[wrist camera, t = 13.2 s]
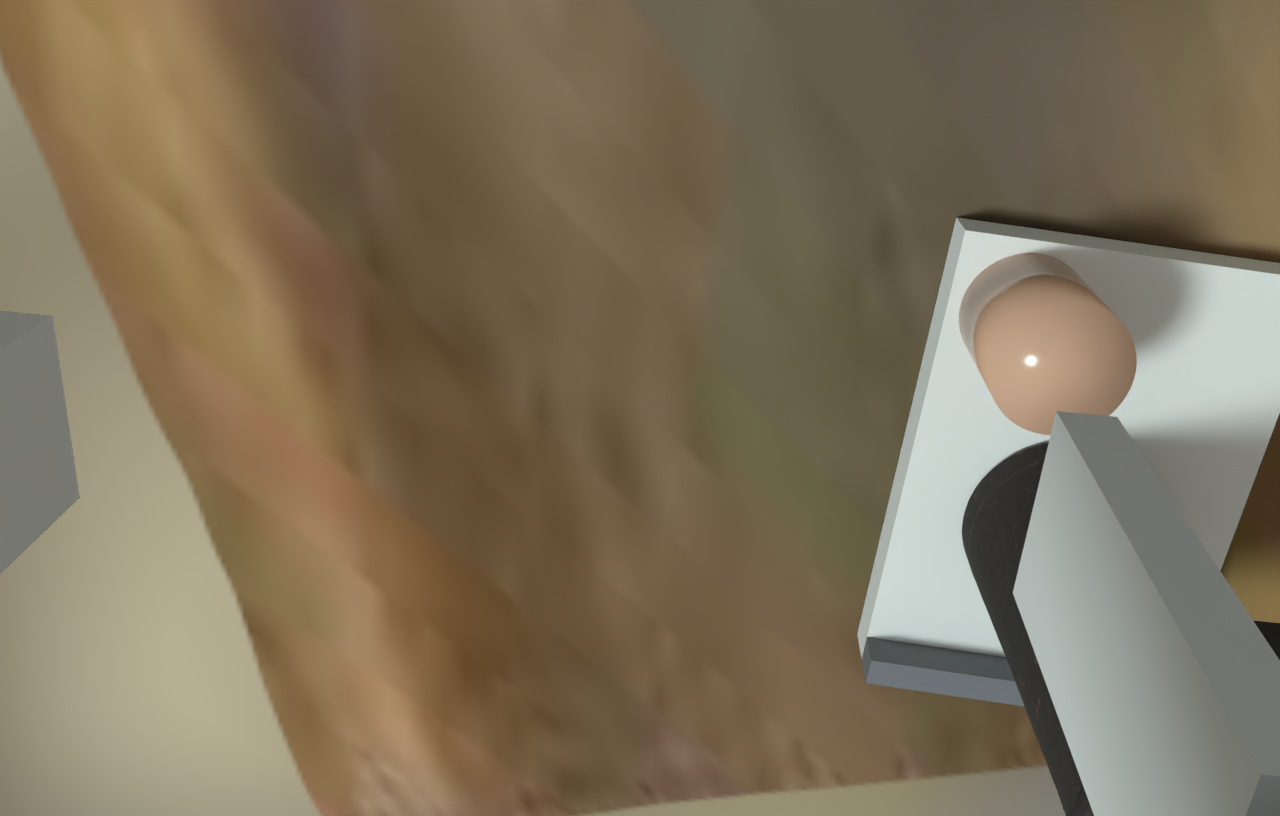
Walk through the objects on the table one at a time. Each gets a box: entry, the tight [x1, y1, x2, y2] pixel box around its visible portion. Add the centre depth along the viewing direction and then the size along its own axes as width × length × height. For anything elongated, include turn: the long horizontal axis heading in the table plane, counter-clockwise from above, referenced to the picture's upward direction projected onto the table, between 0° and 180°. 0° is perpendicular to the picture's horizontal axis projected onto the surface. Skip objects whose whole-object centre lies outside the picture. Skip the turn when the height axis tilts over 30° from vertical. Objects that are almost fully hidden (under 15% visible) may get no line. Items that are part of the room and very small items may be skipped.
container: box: [962, 443, 1094, 816], centre depth 41 cm, size 9×9×20 cm
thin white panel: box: [857, 217, 1280, 706], centre depth 50 cm, size 20×14×4 cm
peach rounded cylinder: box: [959, 253, 1137, 435], centre depth 44 cm, size 5×5×6 cm
